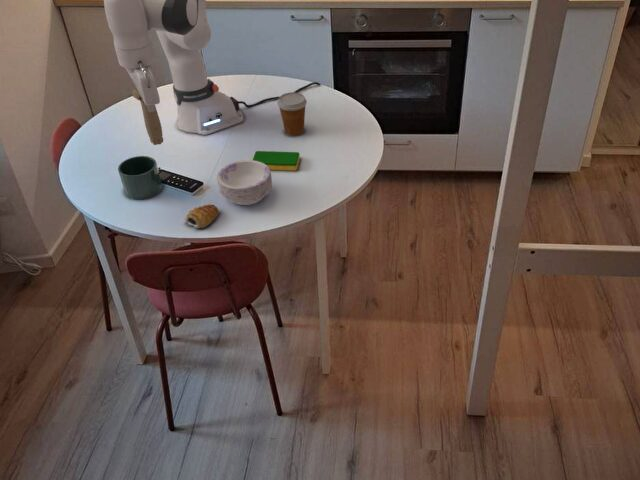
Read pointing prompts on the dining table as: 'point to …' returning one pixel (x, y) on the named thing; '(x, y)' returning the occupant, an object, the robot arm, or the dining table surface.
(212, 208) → the pastry
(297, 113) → the disposable coffee cup
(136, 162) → the crock
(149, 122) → the handle
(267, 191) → the white bowl
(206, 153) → the dining table surface
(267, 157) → the dish sponge
